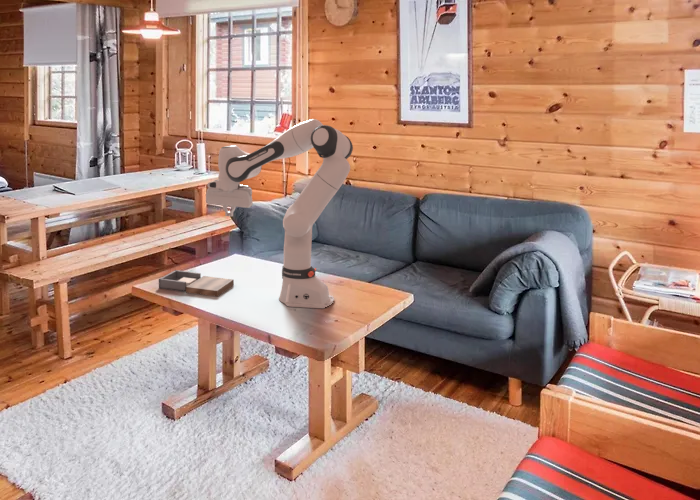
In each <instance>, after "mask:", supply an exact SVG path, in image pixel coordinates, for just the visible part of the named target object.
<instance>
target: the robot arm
mask: <svg viewBox="0 0 700 500" xmlns="http://www.w3.org/2000/svg"><path fill="white" fill-rule="evenodd" d="M311 149H314V150H315V152H316V154H318V156H319V158H322V163H321V165H320V166H319V167H318V169H317V170H316V172H315V173H314V174H313V176H312V177H311V179H309V181H308V182H307V184H306V185H305V186H304V188H303V189H302V190H301V192H300V194H299V195H298V196H297V198H296V199H295V200H294V202H293V203H292V204H290V205H289V207H288V208H287V209H286V211H285V213H284V216H283V217H282V218H283V219H282V227H283V229H284V240H283V241H284V242H283V265H282V269H281V278H282V283H281V284H282V285H281V290H280V295H279V296H278V300H279V301H280V302H281V303H283V304H285V306H286V307H293V308H309V309H310V308H311V309H325V307H327V306H329V305H331V304H332V303H334V302H335V298H334V295H331V294H330V291H329V288H328V285H327V284H326V283H325V282H324V281H322V280H321V279H320V278H319V277H318V276H316V271H317V267H315V268H314V267H313V266H312V242H313V241H312V240H313V226H314V225H315V223H316V222H317V220H318V219H319V217H320V216H321V214H322V213H323V211H324V210H325V208H326V207H327V205H329V202H331V200H332V199H333V198H334V196H336V194H337V192H338V191H339V190H340V188H341V187H342V186H343V184H344V182H345V180H346V179H347V178H348V175H349V173H350V171H351V165H350V162H349V160H348V159H349V158H350V156H351V155H352V153H353V150H354V146H353V142H352V141H351V139H350V138H349V137H348V136H347V135H346V134H344V133H343V132H342V131H340V130H339V129H337V128H334V127H333V126H331V125H327V124H323V123H322V122H321V121H320V120H319V119H316V118H312V119H308V120H306V121H303V122H299V123H297V124H296V125H294V126H292V127H290V128H288V129H286V130H285V131H284V132H283V133H281V134H280V135H278V136H277V137H275V139H273V140H271V141H270V142H269V143H267V144H266V145H264V146H262V147H260V148H258V149H257V150H255V151H253V152H251V153H249V152H247V151H244V150H242V149H241V148H240V147H239V146H238V145H235V144H234V145H227V146H226V145H225V146H222V147H221V148H220V149H219V152H218V161H217V162H218V164H217V165H218V166H217V167H218V171H219V172H218V179H215V180H213V181H210V182H209V181H208V182H207V189H206V192H205V202H206V204H208V205H215V206H222V209H223V211H224V214H225V215H224V216H225V217H234V212H235V210H236V209H237V208H244V209H245V208H246V209H247V208H251V207H252V206H253V196H252V195H253V189H252V187H251V186H249V185H243V184H240V183H241V182H243V181H246V180H248V179H251V178H255V177H257V176H258V175H259V174H260V173H261V171H262V169H263V166H264V165H266V164H268V163H271V162H273V161H277V160H282V159H288V158H289V159H290V158H292V157H297V156H299V155H302V154H304V153H306V152H308V151H309V150H311ZM228 207H230V209H231V210H230V211H229V209H228ZM333 301H334V302H333ZM332 305H333V304H332ZM332 305H331V306H332ZM329 307H330V306H329ZM327 308H328V307H327Z"/></svg>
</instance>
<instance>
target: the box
mask: <svg viewBox="0 0 700 500" xmlns="http://www.w3.org/2000/svg"><path fill="white" fill-rule="evenodd" d="M183 277H186V278H194V279H196V280H198V279H200V278H201V277H202V274H201V272H196V271H195V272H194V271H187V270H180V269H179V270H178V269H175V270H173V271H171V272H169V273H167V274H165V275H164V276H162V277H160V278H159V279H158V289H163V290H170V291H178V292H184V293H186V282H184V281H178V280H180V279H181V278H183Z"/></svg>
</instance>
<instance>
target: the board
mask: <svg viewBox="0 0 700 500" xmlns="http://www.w3.org/2000/svg"><path fill="white" fill-rule="evenodd" d="M234 285H235V284H234V279H232V278H231V279H230V278H224V277H216V276H206V275H203V276H201V278H200V279H198V280H196V281H195V282H193V283H191V284H190V285H188V286H186V291H185V293H187V294H194V295H201V296H202V295H203V296H210V297H218V296H220V295H222V294H223V293H224V292H226V291H227V290H229V289H230V288H231V287H234Z"/></svg>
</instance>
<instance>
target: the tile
mask: <svg viewBox="0 0 700 500" xmlns="http://www.w3.org/2000/svg"><path fill="white" fill-rule="evenodd" d="M178 281H184V282H186V286H188V285H190V284H191V283H193V282H195V281H196V279H194V278H186V277H183V278H181V279H180V280H178Z"/></svg>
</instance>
